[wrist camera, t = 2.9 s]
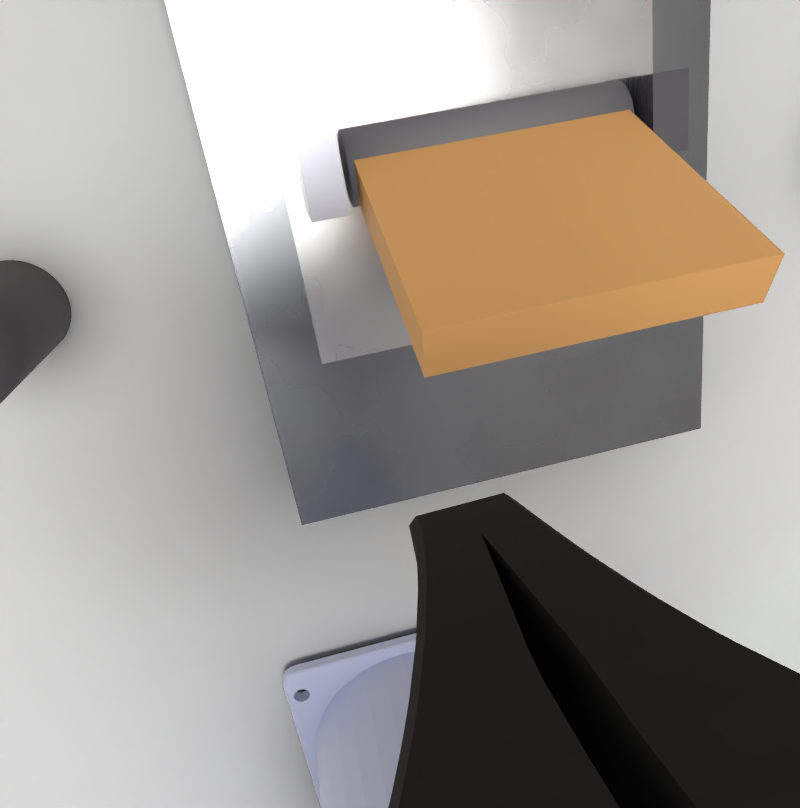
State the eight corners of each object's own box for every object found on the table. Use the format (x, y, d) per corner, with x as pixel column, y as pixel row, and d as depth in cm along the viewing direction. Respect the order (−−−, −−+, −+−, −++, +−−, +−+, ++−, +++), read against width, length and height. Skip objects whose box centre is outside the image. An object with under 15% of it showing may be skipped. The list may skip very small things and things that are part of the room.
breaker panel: (670, 408, 21) (749, 461, 18) (299, 496, 20) (306, 572, 17) (672, -362, 14) (806, -523, 11) (92, -302, 13) (28, -463, 9)
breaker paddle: (596, 137, 16) (762, 314, 12) (344, 184, 15) (419, 391, 11) (606, 68, 15) (797, 236, 10) (334, 116, 14) (414, 317, 10)
